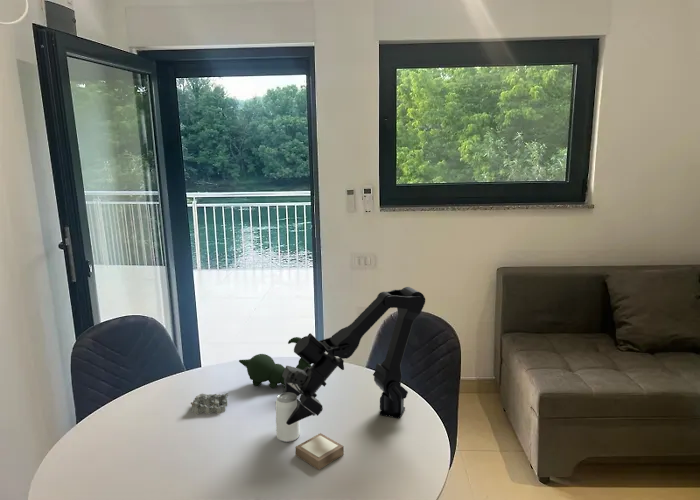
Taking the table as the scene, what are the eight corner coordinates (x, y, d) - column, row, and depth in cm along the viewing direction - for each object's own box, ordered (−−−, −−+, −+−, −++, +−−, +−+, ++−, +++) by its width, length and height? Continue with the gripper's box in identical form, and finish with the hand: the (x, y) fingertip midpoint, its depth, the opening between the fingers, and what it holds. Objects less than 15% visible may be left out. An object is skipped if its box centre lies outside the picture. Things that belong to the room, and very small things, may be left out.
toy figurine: (311, 384, 178) (241, 376, 179) (315, 334, 174) (243, 326, 175) (307, 397, 169) (233, 389, 170) (312, 344, 165) (236, 336, 166)
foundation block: (320, 441, 141) (320, 432, 140) (343, 454, 135) (343, 445, 134) (295, 455, 135) (295, 446, 134) (318, 469, 129) (318, 460, 128)
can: (295, 443, 140) (294, 404, 137) (273, 441, 141) (271, 401, 139) (302, 431, 146) (301, 392, 144) (281, 428, 147) (279, 390, 145)
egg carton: (189, 415, 155) (188, 403, 154) (197, 403, 163) (196, 391, 162) (224, 415, 155) (223, 403, 154) (230, 403, 162) (229, 391, 162)
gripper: (289, 344, 149) (254, 386, 147) (310, 370, 132) (270, 417, 130) (315, 365, 153) (281, 406, 151) (338, 392, 136) (300, 438, 134)
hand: (282, 415), depth 142 cm, fingers open, 9 cm apart
